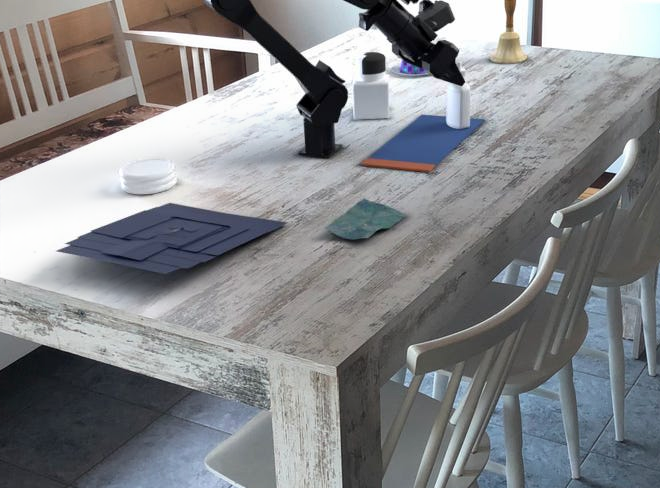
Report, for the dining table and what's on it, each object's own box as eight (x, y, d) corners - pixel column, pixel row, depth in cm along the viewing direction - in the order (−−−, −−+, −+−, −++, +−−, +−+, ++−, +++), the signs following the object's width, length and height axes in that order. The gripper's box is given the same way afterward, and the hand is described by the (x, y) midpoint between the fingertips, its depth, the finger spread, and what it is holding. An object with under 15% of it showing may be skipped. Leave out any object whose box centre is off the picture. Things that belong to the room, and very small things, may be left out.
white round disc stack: (126, 199, 181) (123, 179, 180) (117, 181, 190) (114, 162, 188) (182, 189, 183) (179, 170, 181) (171, 172, 192) (169, 153, 190)
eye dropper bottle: (446, 130, 199) (447, 66, 192) (445, 121, 203) (446, 58, 197) (470, 129, 198) (471, 65, 192) (468, 120, 203) (470, 57, 196)
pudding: (382, 69, 241) (382, 46, 239) (430, 61, 244) (430, 38, 241) (403, 81, 232) (403, 57, 229) (452, 73, 234) (453, 49, 231)
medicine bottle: (389, 108, 215) (388, 48, 209) (389, 118, 209) (388, 57, 203) (354, 109, 216) (352, 50, 210) (353, 120, 210) (351, 59, 204)
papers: (47, 266, 156) (44, 243, 154) (169, 218, 178) (168, 197, 177) (177, 295, 144) (176, 270, 142) (290, 239, 167) (290, 217, 165)
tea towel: (429, 172, 181) (429, 170, 181) (360, 165, 187) (360, 163, 187) (484, 121, 203) (484, 119, 203) (421, 116, 209) (421, 114, 209)
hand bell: (512, 65, 236) (515, -9, 227) (482, 60, 241) (485, -12, 233) (534, 57, 240) (538, -16, 232) (504, 52, 246) (507, -19, 237)
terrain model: (364, 208, 169) (364, 197, 168) (407, 217, 165) (407, 206, 164) (323, 237, 160) (323, 226, 159) (367, 248, 156) (367, 236, 155)
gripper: (449, -4, 178) (505, 53, 186) (406, -21, 193) (459, 33, 201) (407, 49, 180) (463, 104, 189) (368, 29, 196) (421, 80, 204)
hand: (452, 78), depth 196 cm, fingers open, 9 cm apart
